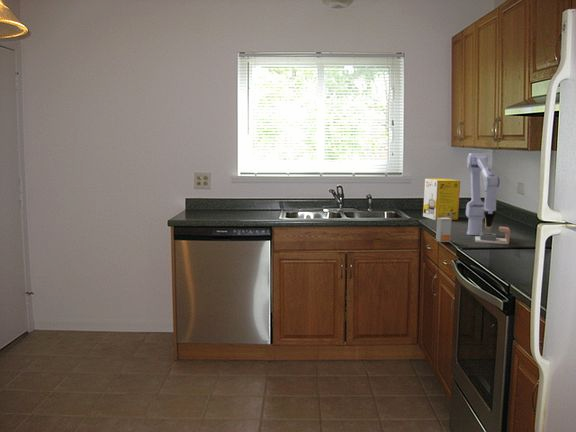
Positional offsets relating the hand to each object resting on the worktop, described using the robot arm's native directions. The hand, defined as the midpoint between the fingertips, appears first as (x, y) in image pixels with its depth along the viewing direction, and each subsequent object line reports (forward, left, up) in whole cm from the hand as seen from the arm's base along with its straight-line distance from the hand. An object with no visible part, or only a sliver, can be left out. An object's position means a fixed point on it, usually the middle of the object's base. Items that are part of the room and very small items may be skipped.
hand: (488, 226), depth 311 cm
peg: (0, 0, -2) cm, 2 cm away
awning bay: (0, +2, -8) cm, 8 cm away
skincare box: (+11, -22, -8) cm, 26 cm away
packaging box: (-79, -26, -8) cm, 84 cm away
